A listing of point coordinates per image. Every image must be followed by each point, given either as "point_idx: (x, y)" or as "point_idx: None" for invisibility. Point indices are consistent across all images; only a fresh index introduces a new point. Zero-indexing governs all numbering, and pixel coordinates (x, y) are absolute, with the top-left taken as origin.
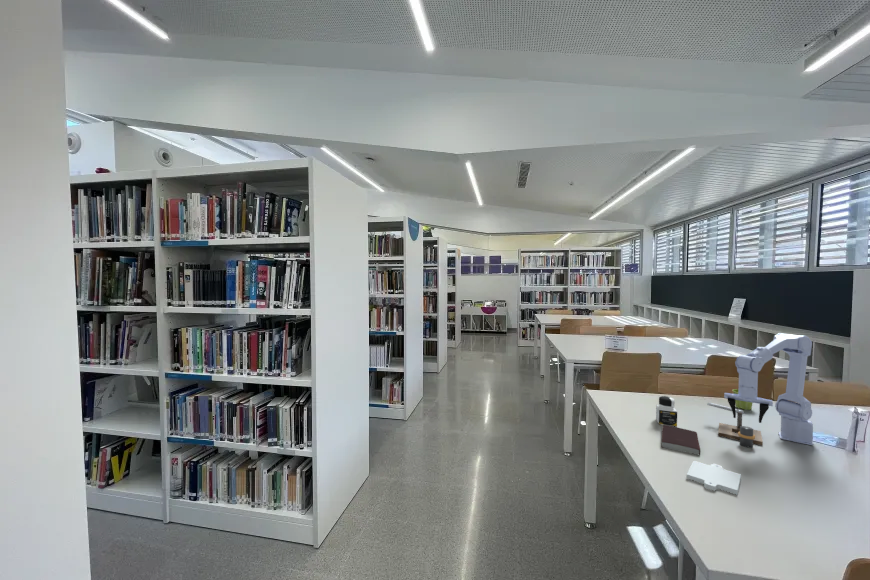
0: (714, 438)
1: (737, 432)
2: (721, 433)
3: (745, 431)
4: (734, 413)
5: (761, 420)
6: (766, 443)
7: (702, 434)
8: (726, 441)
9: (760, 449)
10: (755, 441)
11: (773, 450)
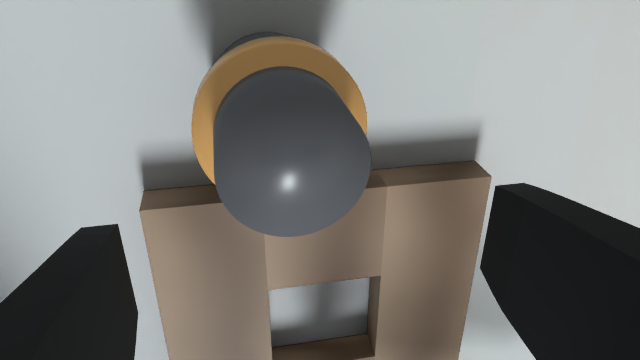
0: (514, 64)
1: (332, 341)
2: (465, 177)
3: (302, 86)
4: (583, 216)
5: (54, 256)
6: None
7: (594, 97)
8: (424, 60)
9: (145, 64)
10: (199, 199)
11: (43, 132)
